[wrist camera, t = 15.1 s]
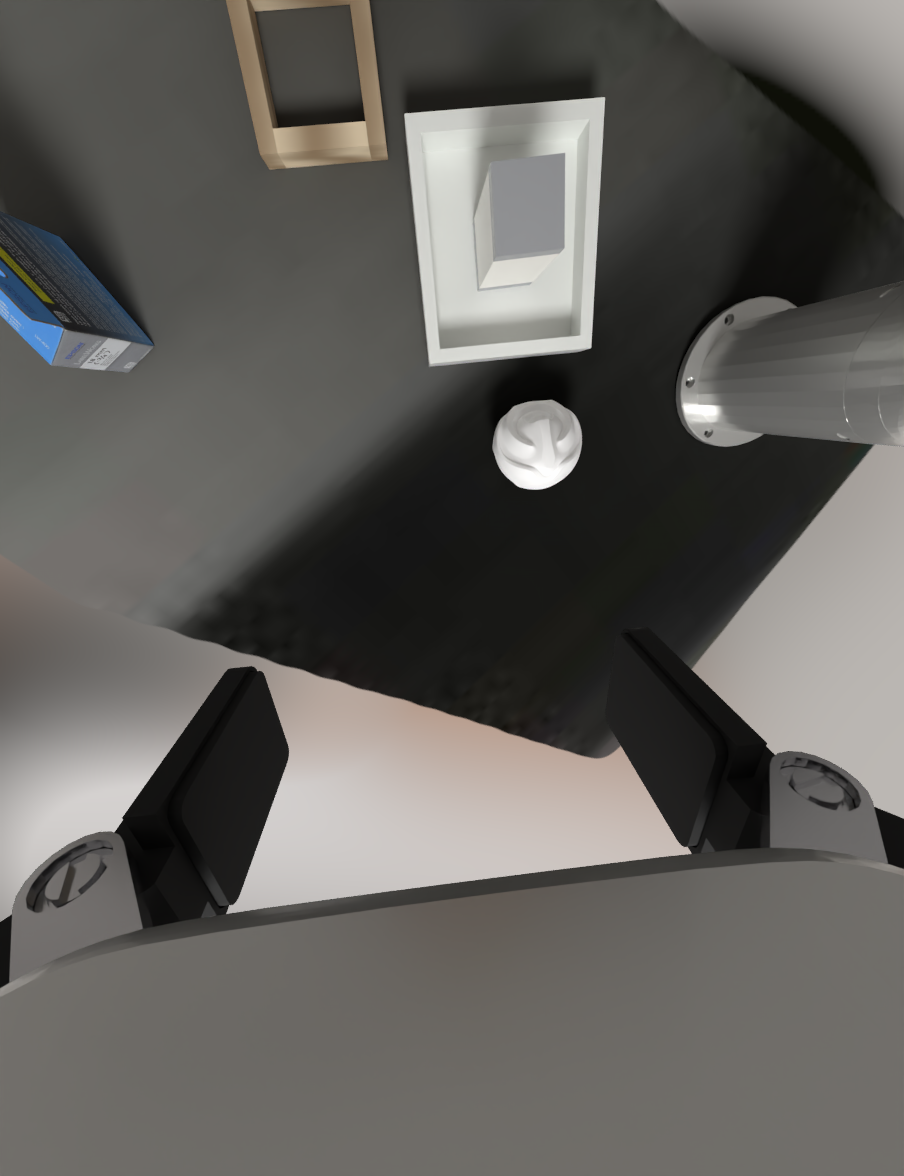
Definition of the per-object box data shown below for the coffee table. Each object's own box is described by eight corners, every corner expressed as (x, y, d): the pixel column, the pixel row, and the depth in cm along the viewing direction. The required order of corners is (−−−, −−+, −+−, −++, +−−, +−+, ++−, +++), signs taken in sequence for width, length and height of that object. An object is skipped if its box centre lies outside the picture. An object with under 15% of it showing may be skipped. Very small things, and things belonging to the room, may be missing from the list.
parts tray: (588, 124, 30) (604, 97, 27) (578, 351, 36) (591, 348, 34) (405, 139, 30) (404, 113, 27) (428, 366, 36) (429, 363, 33)
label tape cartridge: (30, 269, 31) (-186, 196, 20) (61, 234, 31) (-144, 140, 19) (128, 374, 35) (-9, 362, 24) (158, 346, 34) (32, 319, 23)
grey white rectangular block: (528, 216, 32) (565, 152, 23) (529, 285, 34) (564, 248, 25) (472, 223, 31) (490, 161, 23) (477, 291, 33) (495, 256, 25)
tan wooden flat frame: (366, -27, 26) (362, -58, 24) (388, 159, 30) (386, 144, 28) (229, -17, 26) (215, -48, 24) (269, 169, 30) (260, 154, 28)
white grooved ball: (563, 394, 38) (595, 393, 31) (565, 473, 41) (595, 488, 34) (482, 408, 38) (496, 410, 31) (491, 486, 41) (505, 504, 34)
